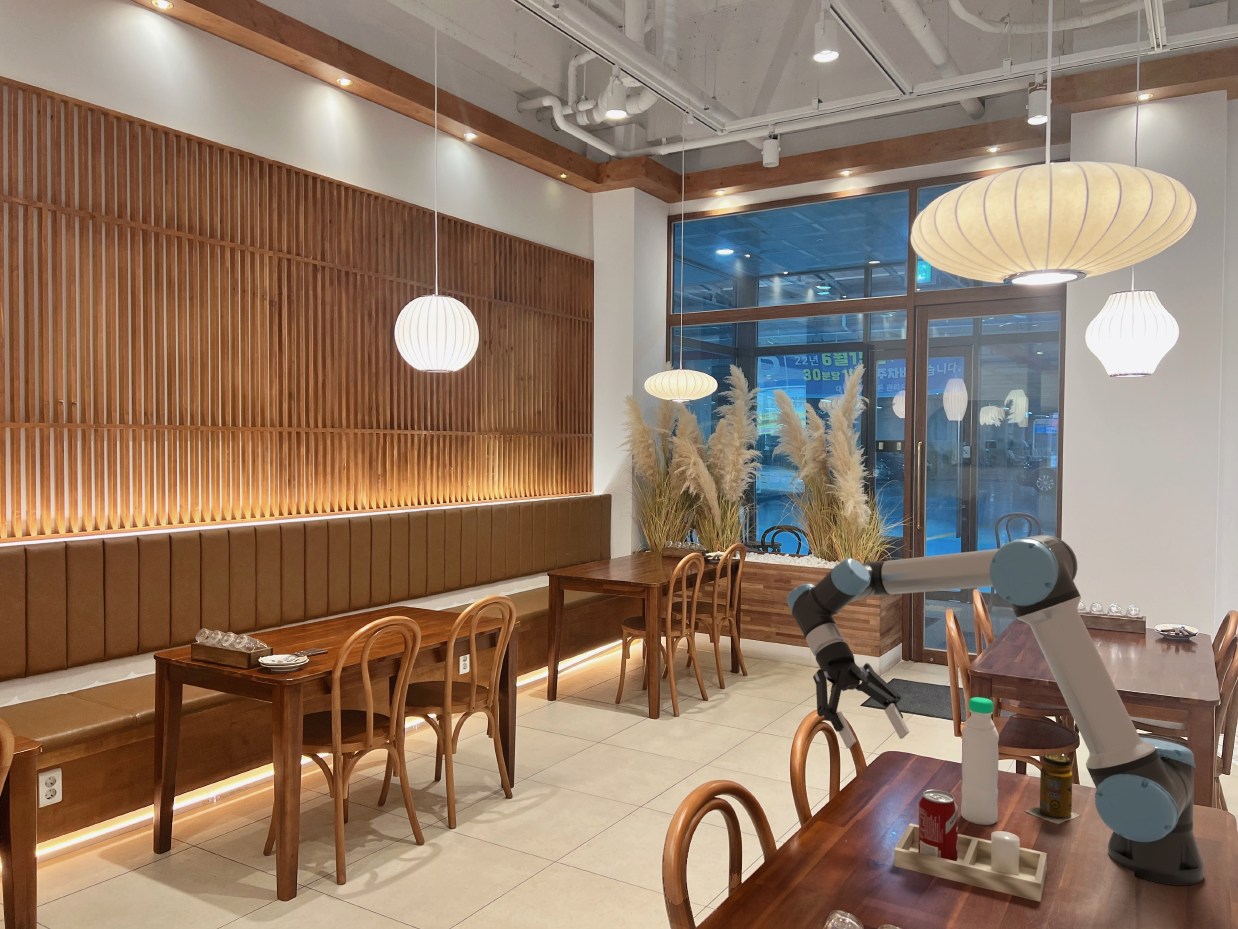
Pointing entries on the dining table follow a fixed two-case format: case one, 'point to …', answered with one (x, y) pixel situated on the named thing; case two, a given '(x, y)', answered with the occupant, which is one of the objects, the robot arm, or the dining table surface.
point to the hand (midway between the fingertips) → (878, 740)
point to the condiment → (1055, 790)
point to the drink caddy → (975, 865)
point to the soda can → (938, 825)
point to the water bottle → (980, 764)
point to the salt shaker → (1005, 852)
